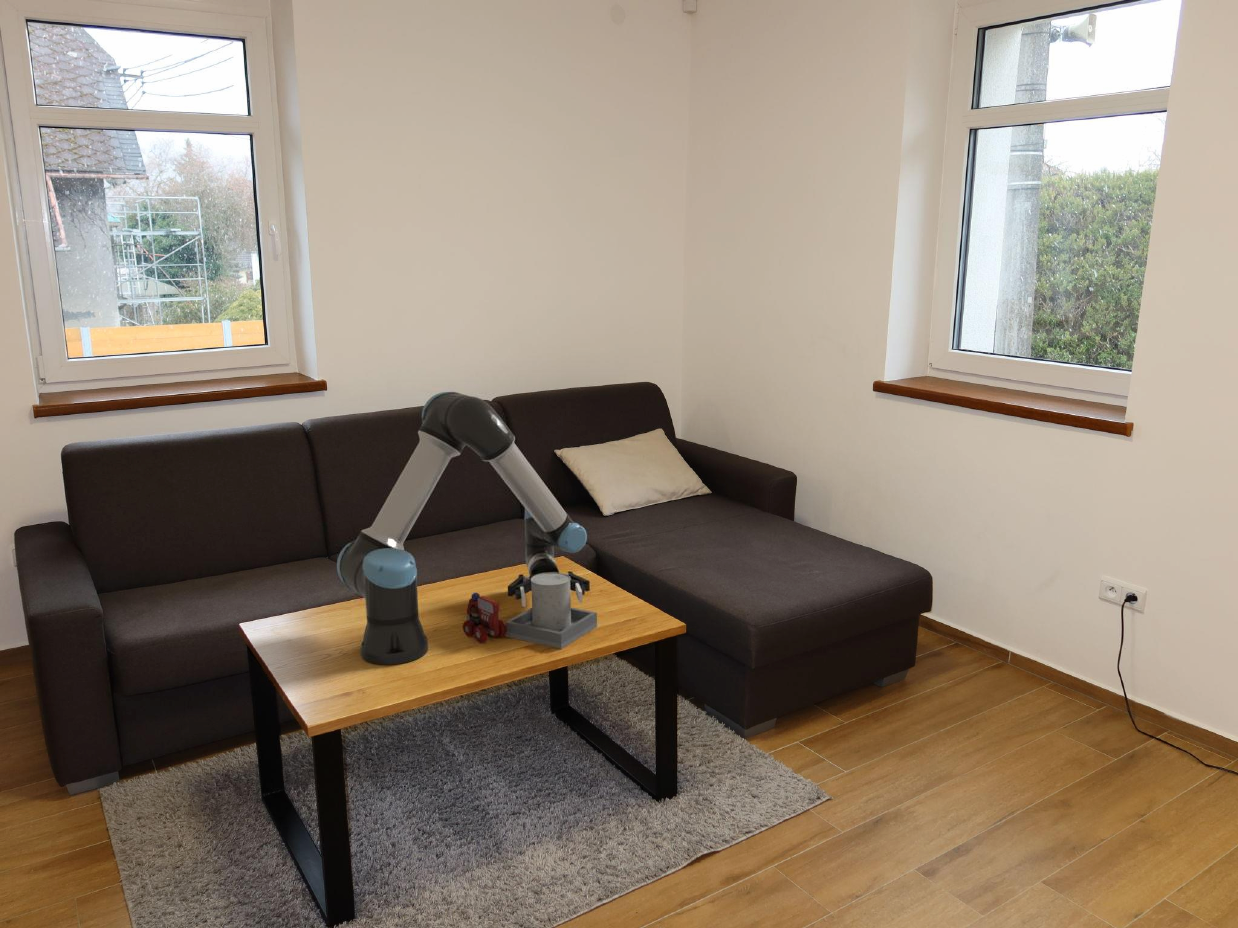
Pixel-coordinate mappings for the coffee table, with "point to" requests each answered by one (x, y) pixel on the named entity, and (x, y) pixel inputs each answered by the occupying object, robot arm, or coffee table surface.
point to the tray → (526, 631)
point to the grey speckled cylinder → (551, 601)
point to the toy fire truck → (483, 619)
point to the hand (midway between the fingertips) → (552, 599)
